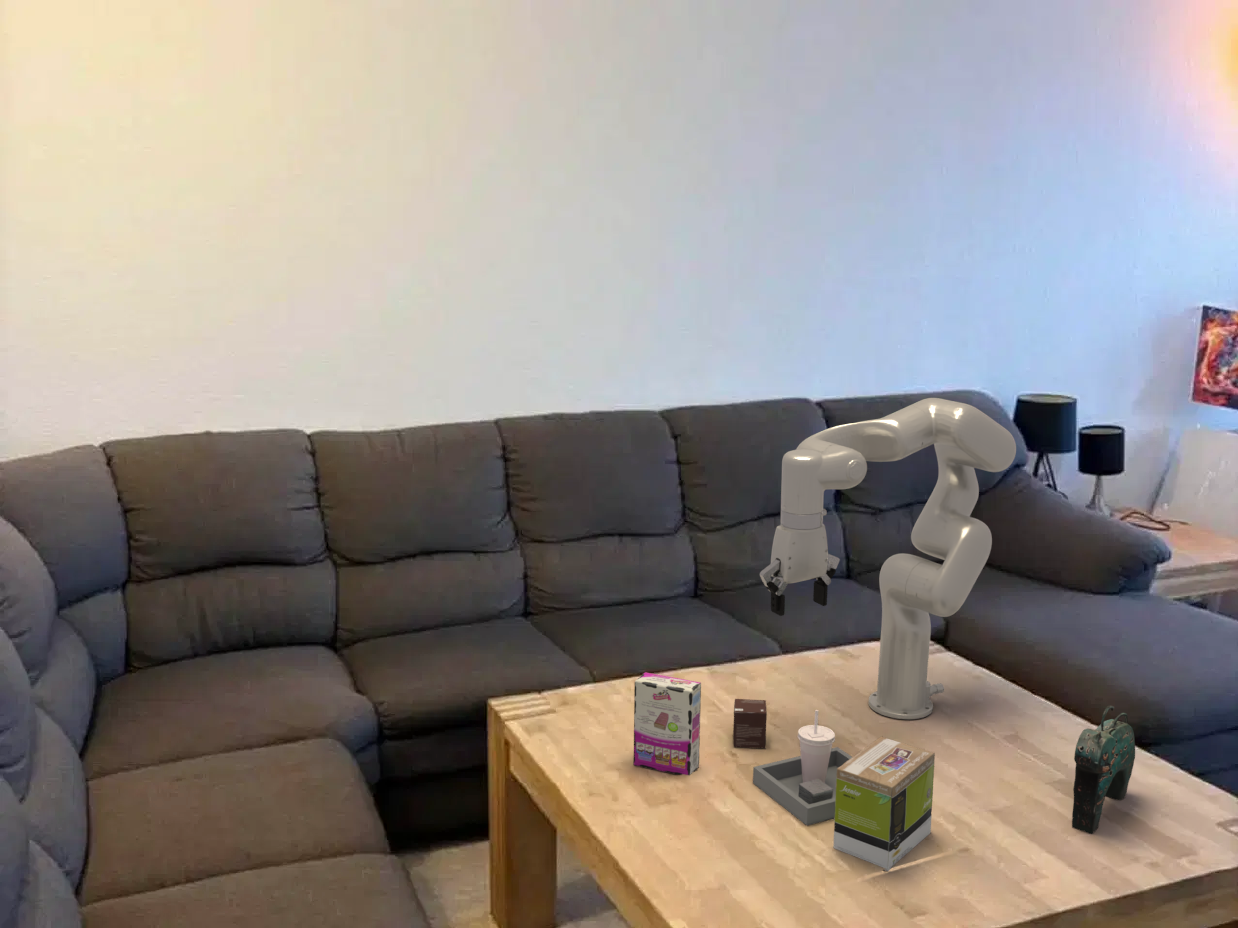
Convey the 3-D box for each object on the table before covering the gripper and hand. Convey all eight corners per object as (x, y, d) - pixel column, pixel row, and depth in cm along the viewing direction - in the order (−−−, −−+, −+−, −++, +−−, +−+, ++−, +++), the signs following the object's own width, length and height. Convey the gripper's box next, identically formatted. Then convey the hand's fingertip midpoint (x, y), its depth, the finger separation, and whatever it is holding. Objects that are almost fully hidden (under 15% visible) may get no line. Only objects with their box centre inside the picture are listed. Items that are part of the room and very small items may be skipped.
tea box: (876, 815, 208) (881, 733, 205) (931, 835, 202) (938, 751, 198) (830, 851, 197) (835, 765, 193) (888, 874, 190) (894, 786, 187)
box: (765, 735, 237) (766, 699, 235) (765, 749, 231) (767, 713, 229) (733, 733, 237) (734, 697, 236) (732, 747, 231) (734, 711, 230)
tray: (836, 765, 225) (837, 746, 224) (893, 804, 211) (895, 785, 210) (752, 785, 217) (753, 766, 216) (806, 828, 203) (807, 808, 202)
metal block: (817, 800, 211) (818, 778, 210) (831, 810, 208) (833, 789, 207) (797, 805, 209) (799, 783, 209) (812, 816, 206) (813, 794, 205)
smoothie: (789, 787, 216) (793, 712, 212) (802, 771, 221) (806, 698, 218) (825, 796, 213) (829, 720, 209) (837, 780, 218) (841, 706, 215)
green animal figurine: (1094, 841, 201) (1108, 726, 196) (1055, 827, 205) (1067, 714, 200) (1137, 796, 216) (1150, 688, 211) (1100, 784, 220) (1112, 678, 215)
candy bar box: (700, 766, 224) (702, 681, 220) (689, 778, 219) (692, 691, 216) (643, 753, 228) (645, 670, 225) (631, 765, 224) (633, 680, 220)
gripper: (826, 506, 231) (823, 594, 235) (750, 520, 223) (748, 610, 227) (852, 516, 225) (849, 606, 229) (775, 531, 216) (773, 624, 221)
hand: (799, 608), depth 228 cm, fingers open, 9 cm apart
